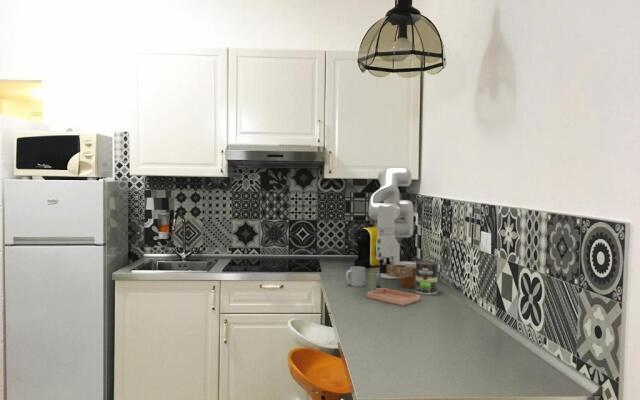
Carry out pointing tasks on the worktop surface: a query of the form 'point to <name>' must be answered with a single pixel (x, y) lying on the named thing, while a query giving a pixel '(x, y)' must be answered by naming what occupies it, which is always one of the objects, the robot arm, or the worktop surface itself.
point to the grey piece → (378, 281)
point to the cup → (356, 276)
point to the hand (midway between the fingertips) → (385, 272)
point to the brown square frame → (398, 270)
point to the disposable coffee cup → (409, 281)
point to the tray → (393, 296)
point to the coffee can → (426, 277)
